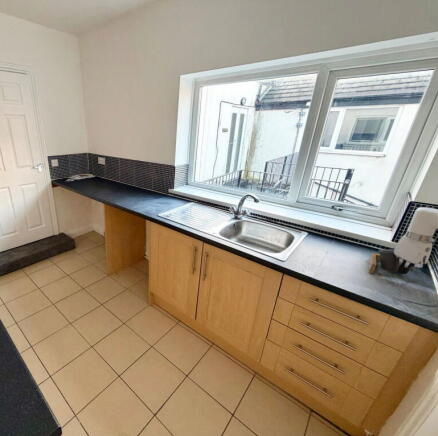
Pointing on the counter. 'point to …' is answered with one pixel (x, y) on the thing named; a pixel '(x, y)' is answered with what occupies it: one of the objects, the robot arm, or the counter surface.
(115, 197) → the counter surface
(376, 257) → the corner guard
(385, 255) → the coffee cup
